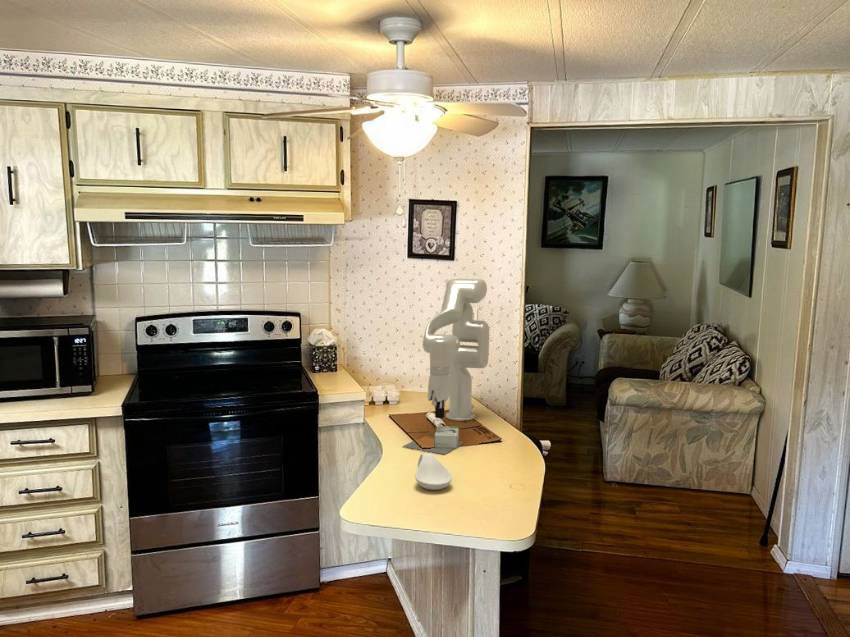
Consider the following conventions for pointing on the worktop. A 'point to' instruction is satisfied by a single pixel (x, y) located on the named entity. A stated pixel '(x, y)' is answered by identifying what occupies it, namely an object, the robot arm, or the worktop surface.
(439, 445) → the ink box
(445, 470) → the spoon rest
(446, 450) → the mat
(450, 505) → the worktop surface
